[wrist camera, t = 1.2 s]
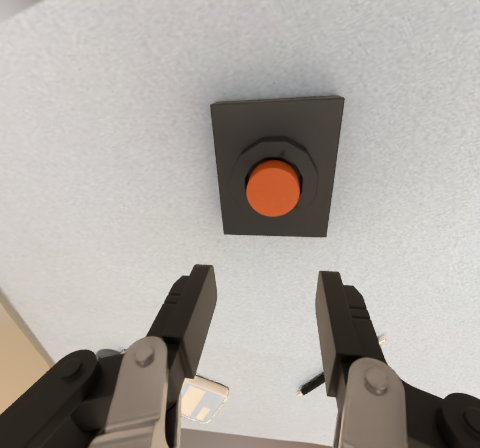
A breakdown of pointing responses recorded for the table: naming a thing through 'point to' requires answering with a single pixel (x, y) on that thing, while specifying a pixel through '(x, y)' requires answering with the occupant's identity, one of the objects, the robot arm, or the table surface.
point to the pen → (320, 380)
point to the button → (273, 188)
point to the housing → (277, 148)
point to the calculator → (201, 399)
